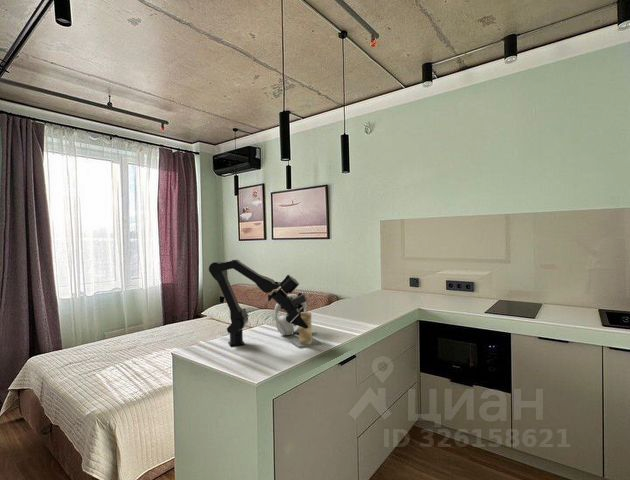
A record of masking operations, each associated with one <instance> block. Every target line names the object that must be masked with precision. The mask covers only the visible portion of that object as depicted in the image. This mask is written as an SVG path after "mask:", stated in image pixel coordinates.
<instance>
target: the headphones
mask: <svg viewBox="0 0 630 480" xmlns="http://www.w3.org/2000/svg"><path fill="white" fill-rule="evenodd" d="M287 295H288V296H289V297H292V298H293V299H294V298H296V297H298V294H295V293H288V294H287ZM302 304H303V305H304V306H303V307H304V312H308V306H307V301H306V302H304V303H302ZM303 307H302V308H303ZM280 311H281V306H279V304H277V303H276V304H275V306H274V311H273V317H274V321H275V327H276V330H277V331H278V333H279V334H280V335H282V336H285V335H286V336H290V335H292V334H293V333H294V334H299V326H298V325H295V324H291V322H292V321H291V322H290V323H288V322H287V321H286V317H287V315H285V314H283V315H279V316H278V313H279V312H280Z"/></svg>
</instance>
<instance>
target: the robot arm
mask: <svg viewBox="0 0 630 480" xmlns="http://www.w3.org/2000/svg"><path fill="white" fill-rule="evenodd" d="M231 269H233V270H235V271H236V272H238V273H239V274H240V275H243V276H245V278H247V279H249V280H250V281H252V282H253V283H254V284H255V285H256V286H257V288H258V289H260V290H261V291H262V292H263V293H265V294H268V295H267V301H268V302H270V301H271V300H273V301H274V302H275V303H276V304H279V306H281V308H280V310H284V312H286V321H287V322H288V323H290V322H291V321H292V322H291V324H295V325H298V326H300V327H303V328H306V329H307V328H308V326H307V324H306V323H305V322H304V320H303V319H302V318H301V312H304V307H303V306H304V305H303V304H302V303H304V302H306V303H307V301H308V299H307V296H306V294H305V293H302V292H299V293H297V295H298V297H296V298H292V297H289V296H288V294H293V292H294V291H295V290H296V289H297V287H299V285H300V282H298V280H296V278H294V277H293V276H291V275H290V274H287V275H286V276H285V278H284V279H283V280H282V281H275V280H274V279H273V278H270V277H267V276H265V275H262V274H261V273H258V272H257V271H255V270H254V269H252V268H250V267H249V266H248V265H246V264H244V263H243V262H241V261H240V260H239V259H232V260H229V261H225V262H223V261H215V262H211V263H210V264H209V267H208V272H209V273H210V275H211V276H212V278H213V279H214V280H215V281H216V282H217V283H218V286H219V288H220V291H221V293H222V294H223V297H224V299H225V302H226V305H227V307H228V308H229V313H230V314H229V315H230V321H231V322H230V323H231V324H229V325H228V327H226V331H227V333H228V334H229V341H228V342H227V343H228V345H229V346H230V347H238V346H243V345H244V346H245V345H246V343H245V342H244V338H243V337H244V332H243V329H244V328H245V326H246V325H247V324H248V322H249V316H250V315H249V314H248V311H247V309H246V307H243V308H242V307H241V306H240V304H239V303H238V302H239V301H238V300H237V298H236V295H235V291H234V290H233V288H232V285H231V283H230V281H229V279H228V271H229V270H231ZM277 289H278V290H277ZM271 292H272V293H271ZM269 293H271V294H269Z"/></svg>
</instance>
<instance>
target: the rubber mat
mask: <svg viewBox="0 0 630 480" xmlns="http://www.w3.org/2000/svg"><path fill="white" fill-rule="evenodd" d="M289 343H291V344H292V345H294V346H295V347H297V348H298V349H301V348H307V347H308V348H309V347H314V346H318V344H320V345H322V341H320V340H318V339H316V338H314V337H313V336H312V342H311V344H300V337H299V338H291V339H289Z"/></svg>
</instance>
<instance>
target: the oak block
mask: <svg viewBox="0 0 630 480" xmlns="http://www.w3.org/2000/svg"><path fill="white" fill-rule="evenodd" d="M301 318H302V319H303V320H304V322H305V323H306V324H307V326H308V328H307V329H306V328H303V327H300V326H299V333H298V334H299V338H300V344H311V342H312V337H313V332H312V331H313V329H312V328H313V327H312V326H313V325H312V312H311V311H307V312H301Z"/></svg>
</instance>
